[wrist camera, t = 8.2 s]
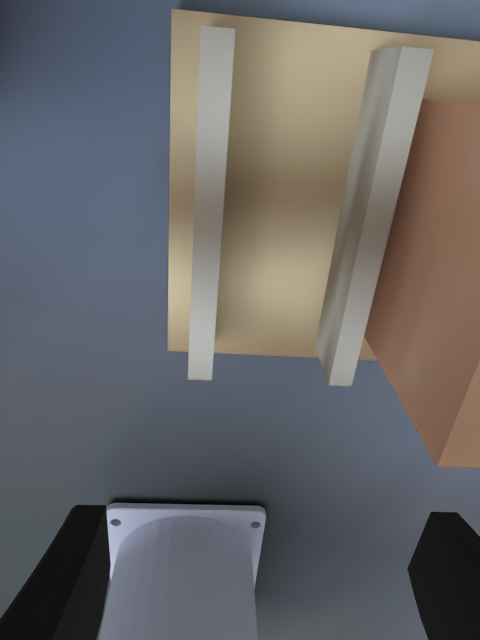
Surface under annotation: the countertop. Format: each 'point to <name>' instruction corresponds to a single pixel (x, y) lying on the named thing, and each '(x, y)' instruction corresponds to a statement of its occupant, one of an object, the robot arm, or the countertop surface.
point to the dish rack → (290, 179)
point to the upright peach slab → (435, 285)
